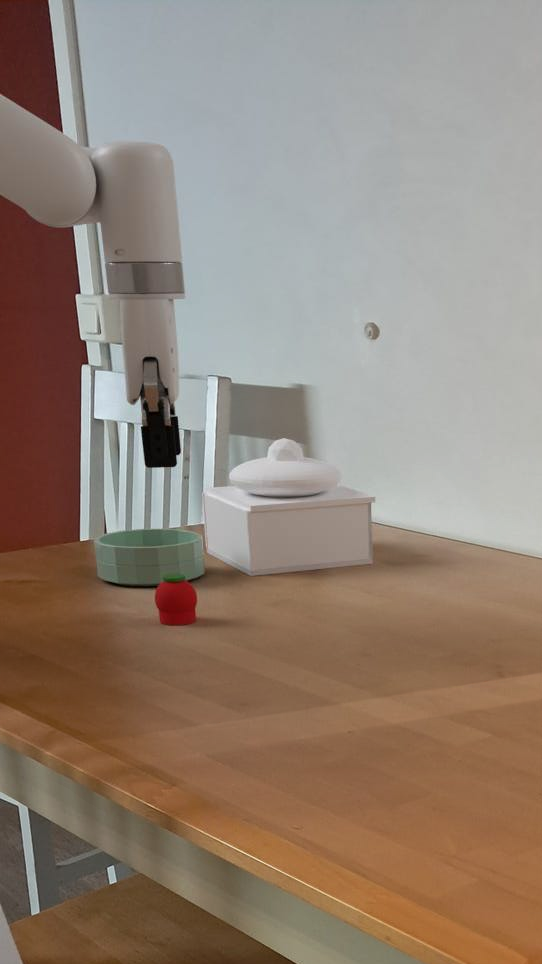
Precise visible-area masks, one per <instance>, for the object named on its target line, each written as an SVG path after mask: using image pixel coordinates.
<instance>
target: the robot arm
mask: <svg viewBox="0 0 542 964" xmlns="http://www.w3.org/2000/svg"><path fill="white" fill-rule="evenodd" d="M0 196H1V197H3V198H5V199H6V200H9V201H10V202H11V203H13V204H15V205H17V206H18V207H20V208H21V209H23V210H24V211H26V213H27V214H28V215H29V216H30V217H32V219H33V220H35V221H37V222H39V223H40V224H43V225H45V226H47V227H53V228H71V227H75V226H77V227H78V226H82V225H89V224H91V225H92V224H100V230H101V231H100V233H101V240H102V247H103V248H102V249H103V250H102V251H103V258H104V259H103V260H104V268H105V277H106V286H107V294H108V300H119V321H120V322H119V323H120V336H121V337H120V338H121V346H122V347H121V348H122V349H121V350H122V358H123V369H124V381H125V393H126V395H125V396H126V401H127V402H128V404H130V405H131V406H134V405H136V404H137V402H138V401H139V400H140V414H141V415H140V417H141V426H140V433H141V445H142V452H143V461H144V466H145V467H146V468H148V469H153V468H154V469H157V468H158V469H159V468H175V467H177V464H178V458H177V456H180V455H181V453H182V448H181V447H182V446H181V445H182V444H181V437H180V436H181V435H180V423H179V416H178V415H176V404H175V403H176V401H177V400H178V398H179V395H180V394H179V393H180V392H179V391H180V390H179V389H180V388H179V387H180V368H179V365H180V364H179V348H178V334H177V333H178V332H177V322H176V311H175V310H176V309H175V300H185V299H186V288H185V275H184V266H183V256H182V255H183V254H182V245H181V243H182V242H181V234H180V231H181V230H180V220H179V210H178V200H177V188H176V177H175V167H174V161H173V157H172V155H171V153H170V151H169V150H168V148H166V147H165V146H163V145H161V144H160V143H155V142H147V141H137V140H135V141H134V140H133V141H131V140H127V141H126V140H125V141H123V140H122V141H121V140H118V141H109V142H104V143H102V144H100V145H98V147H90V146H81V145H79V144H78V143H77V142H76V141H74V140H73V139H72V138H71V137H69V136H68V135H67V134H65V133H63V132H62V131H60V130H59V129H57V128H56V127H54V126H52V125H51V124H49V123H48V122H46V121H45V120H43V119H41V118H40V117H39V116H36V115H35V114H34V113H32V112H30V111H29V110H26V109H25V108H24V107H22V106H20V105H19V104H17V103H16V102H14V101H13V100H11V99H9V98H8V97H6V96H4V95H3V94H1V93H0Z"/></svg>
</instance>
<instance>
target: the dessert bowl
mask: <svg viewBox="0 0 542 964" xmlns="http://www.w3.org/2000/svg"><path fill="white" fill-rule="evenodd" d="M93 544H94V554H95V562H96V572H97V578H99V579H101V580H103V581H105V582H110V583H113V584H117V585H122V586H128V587H158V586H159V585H160V584H161V583H162V582H163V581H164V580H163V576H165V575H169V574H182V575H185V580H186V581H187V582H189V581H191V580H193V579H198V578H200V577H202V576H203V575H205V573H206V572H205V571H206V569H205V557H204V556H205V555H204V544H203V534H201V533H198V532H196V531H193V530H187V529H181V528H180V529H179V528H136V529H127V530H119V531H118V530H117V531H113V532H107V533H103V534H101V535H98V536H96V537H95V538H94V541H93Z"/></svg>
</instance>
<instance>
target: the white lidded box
mask: <svg viewBox="0 0 542 964" xmlns="http://www.w3.org/2000/svg"><path fill="white" fill-rule="evenodd" d="M228 479H229V482H230V483H231V484H232V485H228V486H227V485H226V486H213V487H205V492H201V499H202V501H201V503H202V514H203V526H204V536H205V539H204V540H205V548H206V553H207V554H208V555H211V556H212V557H214V558H216V559H217V560H219V561H221V562H223V563H225V564H227V565H229V566H231V567H233V568H235V569H237V570H239V571H240V572H242V573H244V574H246V575H248V576H250V577H254V576H266V575H275V574H285V573H295V572H304V571H305V572H306V571H313V570H322V569H323V570H325V569H335V568H343V567H354V566H362V565H363V566H364V565H373V563H374V560H373V559H374V558H373V557H374V556H373V523H372V522H373V520H372V518H373V517H372V503H373V504H374V503H376V496H375V495H371V494H369V493H365V492H362V491H359V490H356V489H352V488H350V487H346V486H343V485H340V484H339V483H340V481H341V479H342V474H341V472H340V470H338V469H337V468H336V467H335V465H332V464H330V463H329V462H326V461H323V460H319V459H316V458H312V457H305V456H304V452H303V448H302V447H301V446H300V445H299V444H298V443H297V442H296V441H295V440H293V439H290V438H286V437H283V438H280V439H277V440H275V441H274V442H272V444H271V445H270V446H269V447H268V449H267V456H266V457H260V458H255V459H251V460H248V461H245V462H243V463H240V464H238V465H237V466H235V467H233V469H231V471H230V472H229V475H228Z"/></svg>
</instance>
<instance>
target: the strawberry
mask: <svg viewBox="0 0 542 964" xmlns="http://www.w3.org/2000/svg"><path fill="white" fill-rule="evenodd" d="M163 580H164V581H163V582H162V583H161V584H160V585H159V586H156V589H155V593H154V603H155V606H156V608H157V610H158V617H159V623H160V624H162V625H167V626H184V625H190V624H192V623H195V622H197V613H196V608H197V604H198V594H197V592H196V589H195V588H194V586H193V585H192V583H190V582H189V581H186V580H185V575H182V574H169V575H165V576H163Z"/></svg>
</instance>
